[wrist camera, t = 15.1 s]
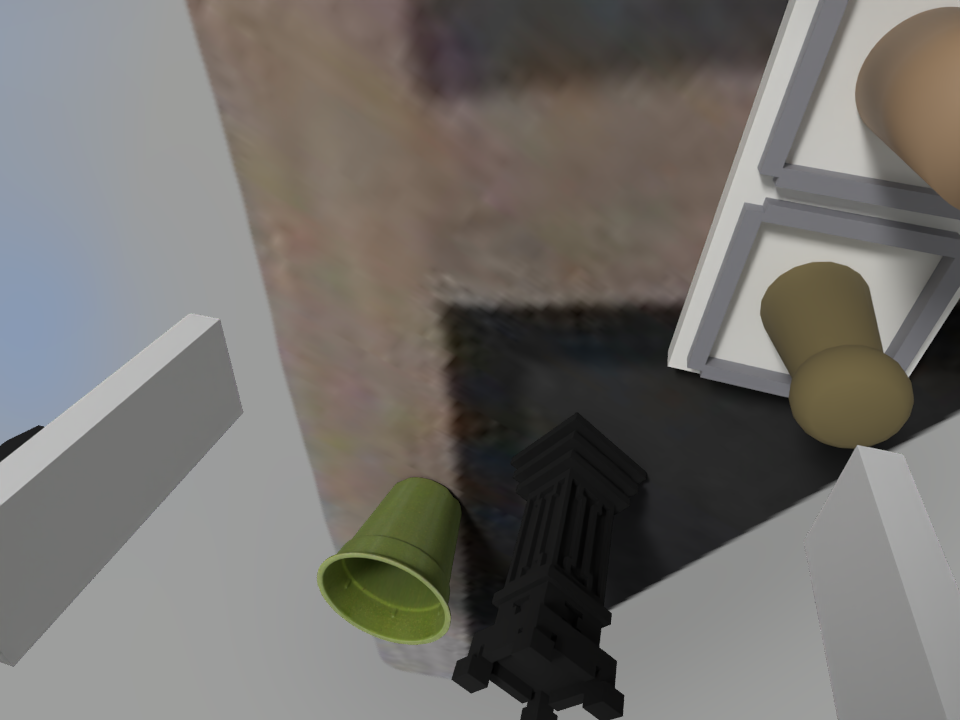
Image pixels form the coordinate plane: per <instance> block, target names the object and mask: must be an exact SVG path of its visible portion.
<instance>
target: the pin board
mask: <svg viewBox="0 0 960 720" xmlns="http://www.w3.org/2000/svg"><path fill="white" fill-rule="evenodd" d="M811 262H834V263H838V264H842V265H846V266H848V267H850V268H851V269H853V270H855V271H856V272H858V273H859V274H861V276H862V277H863V279H864V280H865V281H866V283H867V284H868V286H869V289H870V293H871V298H872V302H873V307H874V311H875V316H876V320H877V325H878V329H879V334H880V338H881V343H882V347H883V352H884V353H885V354H886V355H888V356H890V357H891V358H893V359H894V360H895V361H897V362H898V363H899V365H900V366H901V367H902V369H903V370H904V371H905V373H906V374H907V376H908V377H909V376H910V374H911V373H912V371H913V370H914V368H915V367H916V365H917V364H918V362H919V360H920V359H921V357H922V356H923V354H924V353H925V351H926V350H927V348H928V346H929V345H930V343H931V342H932V340H933V339H934V337H935V336H936V334H937V333H938V331H939V329H940V328H941V326H942V325H943V323H944V322H945V320H946V319H947V317H948V315H949V314H950V312H951V311H952V309H953V308H954V306H955V305H956V303H957V302H958V300H959V298H960V0H789V2H788V4H787V7H786V10H785V13H784V16H783V19H782V22H781V25H780V28H779V31H778V34H777V36H776V39H775V42H774V45H773V48H772V51H771V54H770V57H769V60H768V63H767V65H766V68H765V71H764V74H763V77H762V80H761V83H760V86H759V89H758V92H757V94H756V97H755V100H754V103H753V106H752V109H751V112H750V115H749V118H748V121H747V123H746V126H745V129H744V132H743V135H742V138H741V141H740V144H739V147H738V150H737V152H736V155H735V158H734V161H733V164H732V167H731V170H730V173H729V176H728V179H727V181H726V184H725V187H724V190H723V193H722V196H721V199H720V202H719V205H718V208H717V211H716V213H715V216H714V219H713V222H712V225H711V228H710V231H709V234H708V237H707V240H706V242H705V245H704V248H703V251H702V254H701V257H700V260H699V263H698V266H697V269H696V271H695V274H694V277H693V280H692V283H691V286H690V289H689V292H688V295H687V298H686V300H685V303H684V306H683V309H682V312H681V315H680V318H679V321H678V324H677V327H676V329H675V332H674V335H673V338H672V341H671V344H670V347H669V350H668V366H669V367H673V368H677V369H682V370H686V371H690V372H695V373H699V374H700V377H701V378H706V379H710V380H714V381H719V382H723V383H727V384H732V385H736V386H740V387H745V388H749V389H753V390H758V391H762V392H766V393H771V394H775V395H779V396H784V397H788V398H789V391H790V385H791V380H792V377H791V376H790V374H789V372H788V370H787V368H786V367H785V365H784V363H783V361H782V359H781V357H780V356H779V354H778V352H777V350H776V348H775V347H774V345H773V343H772V341H771V339H770V337H769V336H768V334H767V332H766V330H765V328H764V326H763V323H762V320H761V316H760V308H761V300H762V298H763V296H764V294H765V292H766V290H767V288H768V287H769V286H770V285H771V284H772V283H773V282H774V281H775V280H776V279H777V278H778V277H779V276H780V275H782V274H783V273H785V272H787V271H789V270H790V269H792V268H794V267H796V266H800V265H804V264H807V263H811Z"/></svg>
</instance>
